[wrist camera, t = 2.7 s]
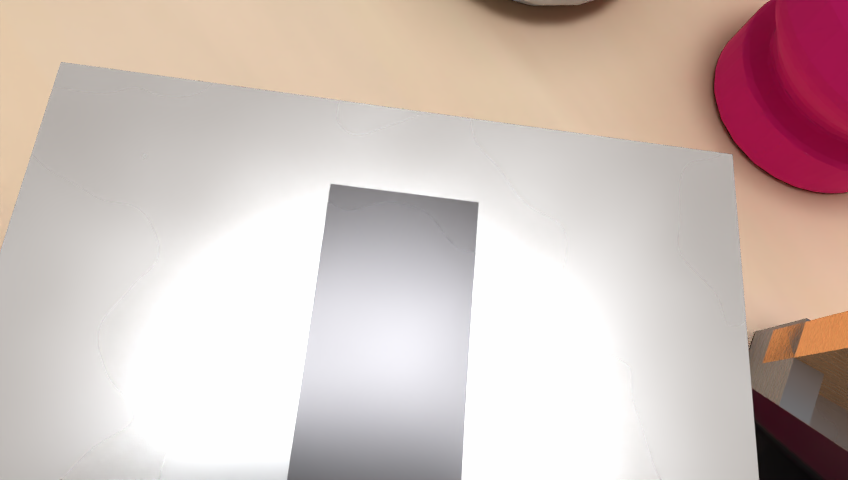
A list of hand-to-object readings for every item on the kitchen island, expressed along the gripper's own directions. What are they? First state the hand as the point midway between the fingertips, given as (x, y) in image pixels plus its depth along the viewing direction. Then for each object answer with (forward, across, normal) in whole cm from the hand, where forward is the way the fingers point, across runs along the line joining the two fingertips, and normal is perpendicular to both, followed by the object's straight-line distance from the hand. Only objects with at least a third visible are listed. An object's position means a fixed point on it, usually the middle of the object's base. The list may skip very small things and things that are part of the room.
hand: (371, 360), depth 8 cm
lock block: (+5, 0, +6) cm, 7 cm away
